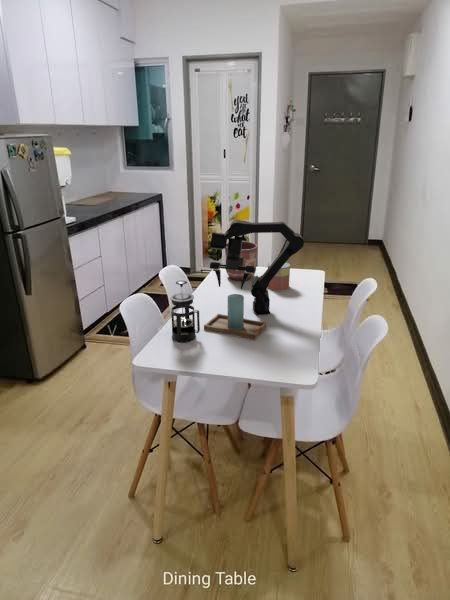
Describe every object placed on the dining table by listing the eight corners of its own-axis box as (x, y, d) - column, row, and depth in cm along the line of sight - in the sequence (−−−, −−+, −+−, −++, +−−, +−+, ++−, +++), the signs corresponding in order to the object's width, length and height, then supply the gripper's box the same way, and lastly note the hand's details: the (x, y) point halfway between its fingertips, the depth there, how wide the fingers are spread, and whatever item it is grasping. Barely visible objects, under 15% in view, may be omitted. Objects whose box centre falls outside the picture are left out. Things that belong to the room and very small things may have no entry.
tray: (218, 317, 187) (218, 313, 186) (266, 326, 178) (266, 322, 177) (204, 329, 176) (203, 325, 175) (254, 339, 167) (254, 335, 166)
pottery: (219, 280, 232) (219, 247, 225) (230, 270, 247) (230, 239, 240) (251, 284, 226) (252, 251, 219) (260, 274, 241) (261, 242, 234)
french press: (166, 340, 167) (162, 284, 158) (175, 330, 175) (172, 276, 166) (195, 344, 164) (193, 287, 155) (203, 334, 172) (201, 279, 163)
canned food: (276, 281, 229) (276, 260, 225) (293, 286, 222) (294, 264, 217) (262, 287, 222) (263, 264, 217) (280, 292, 214) (281, 269, 210)
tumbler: (241, 322, 180) (241, 293, 175) (245, 329, 174) (245, 299, 169) (225, 324, 179) (225, 294, 174) (229, 330, 173) (229, 300, 168)
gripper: (210, 247, 174) (206, 286, 175) (256, 252, 173) (252, 291, 174) (212, 248, 185) (209, 285, 186) (256, 253, 184) (252, 289, 185)
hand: (230, 287), depth 183 cm, fingers open, 9 cm apart
